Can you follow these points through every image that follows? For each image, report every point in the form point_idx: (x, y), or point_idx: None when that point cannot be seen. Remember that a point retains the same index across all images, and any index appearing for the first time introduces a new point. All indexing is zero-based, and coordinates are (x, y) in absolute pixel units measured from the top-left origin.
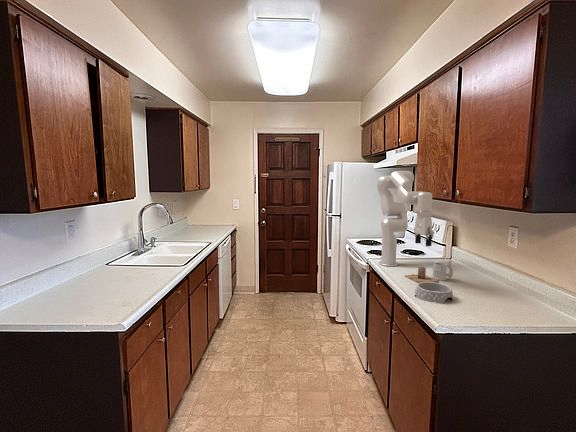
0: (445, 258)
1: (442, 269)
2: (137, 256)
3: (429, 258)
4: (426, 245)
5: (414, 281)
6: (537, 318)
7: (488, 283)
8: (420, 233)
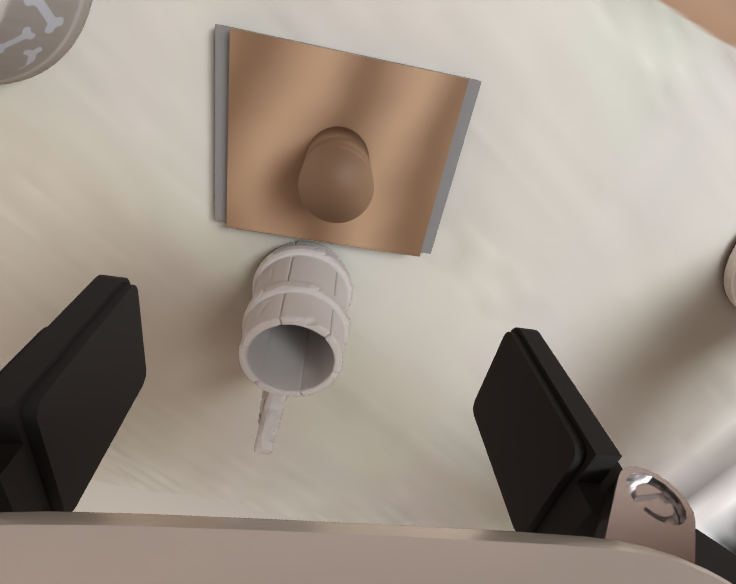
0: None
1: (245, 324)
2: None
3: None
4: (97, 286)
5: (314, 45)
6: None
7: (181, 458)
8: (202, 573)
